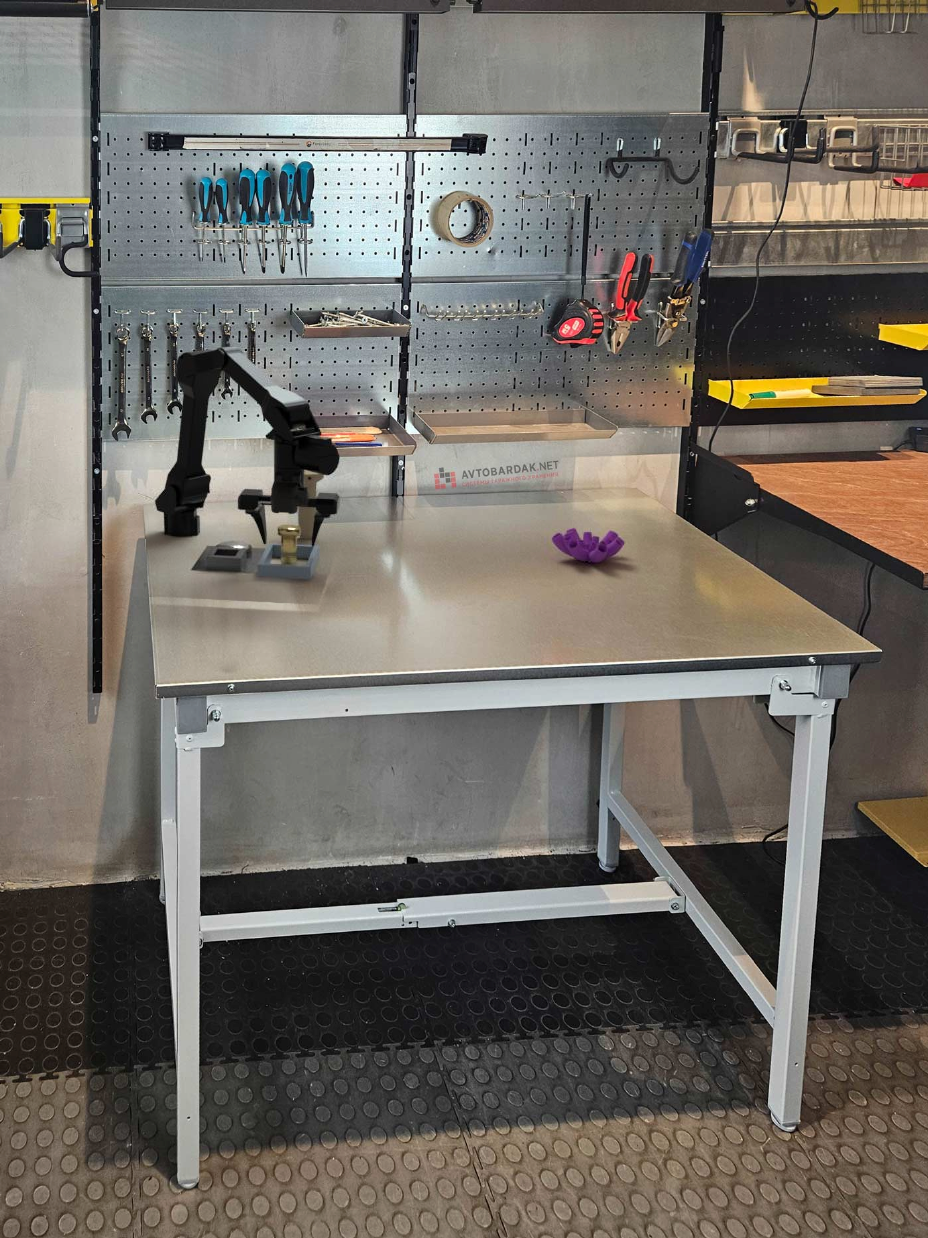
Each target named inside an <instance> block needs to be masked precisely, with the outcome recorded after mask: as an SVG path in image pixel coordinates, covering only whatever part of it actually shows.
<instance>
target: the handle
mask: <svg viewBox="0 0 928 1238" xmlns="http://www.w3.org/2000/svg"><path fill="white" fill-rule="evenodd" d="M324 477H325V475H323V474H319V473H315V472H311V471H307V470H305V476H304V487H308V491H309V497H315V498H317V496H318V494H317V483H318V482H320V481H322V480H323V479H324ZM316 511H317V510H316V508H315V507H298V510H297V515H298V517H297V520H298V521H297V523H298V525H297V526H299V527H301V534H300V535H299V539H307V540H310V539H311V540H312V533H313V526H314V515H315V513H316Z"/></svg>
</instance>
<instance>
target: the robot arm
mask: <svg viewBox="0 0 928 1238" xmlns="http://www.w3.org/2000/svg"><path fill="white" fill-rule="evenodd" d="M222 372H224V373H225V374H226V376H228V377H229V378H230V379H232V381H234V383H235V384H237V385H238V386H239V388H241V389H242V390H243V391H245V392H246V394H248V395H249V396H250V397H251V398H252V399H253V400H254V401H255V402H256V403H257V405H259V407H260V408H261V414H262V417H263V418H264V419H265V420H266V422H267V423H268V424H269V426H270V427H271V428H272V429H271V430H270V431H269V432H268V433H267V434H266V435H265V438H266V440H267V439H268V440H272V441H273V483H272V486H271V493H270V495H269V494H264V491H263V489H259V488H258V489H257V488H244V489H243V490H242V491H241V492H240V493H239V495H238V497H237V509H238V510H240V511H244V513H245V514H246V515H250V517H252V519H253V520H254V522H255V524H256V526H257V529H258V532H259V535H260V538H261V540H262V543H263V545H266V544H268V543H267V541H268V540H267V539H268V531H267V521H266V519H267V518H266V507H265V506H271V507H270V509H271V512H272V513H274V514H279V513H284V514H285V513H286V514H289V515H293V514H296V513H298V511H299V507H315V508H316V510H317V511H316V513H315V515H314V526H313V533H312V539H311V545H312V547H314V545H316V544H315V543H316V541H317V538H318V536H319V532H320V529H321V526H322V524H323V523H324V520H325V519H330V518H331V516H332V515H333V516H334V515H337V514H338V512H339V509H340V496H339V494H338V493H335V492H334V493H333V492H318V494H317V498H315V497H309V491H308V487H304V476H305V470H307V471H311V472H315V473H319V474H323V475H324V476H331V475H332V474H333V473H335V472H336V470H337V468H338V466H339V463H340V454H339V451H338V449H337V447H336V446H335V445H334V444H333V438H332V437H329V436H324V437H323V436H322V431H321V429H320V428H319V427H320V425H319V424H318V422H317V421H316V418H315V416H314V414H313V412H312V410H311V409H310V407H311V405H310V404H309V402H308V401H307V400H306V399H305V398H304V397H302V396H300V395H299V394H297V393H295V392H293V391H292V390H288V389H286V388H285V389H284V388H282V387H280V386H279V385H278V384H276V383H275V381H273V380H272V379H271V378H270V377H269V376H267V374H265V372H263V371H262V370H261V369H260V368H259V367H257V366H256V365H255V363H254V362H252V361H251V360H250V359H249V358H248V357H247V356H246V355H244V353H243V351H242V348H240V347H238V346H236V345H234V346H233V345H232V346H231V345H230V346H223V347H218V348H216V349H203V350H194V351H188V352H187V351H186V352H183V353H182V354H180V355H179V356H178V357H177V360H176V380H177V384H178V386H179V387H180V390H181V392H182V393H183V394H182V396H183V397H182V406H181V415H180V425H179V433H178V435H179V436H178V445H177V455H176V461H175V463H174V465H173V466H172V468H171V469H170V471H169V472H168V473H167V477H166V481H165V484H164V485H165V486H164V489H163V490H162V492H161V493H160V494H159V495H158V496H157V498H156V499H155V500H154V503H155V507H156V511H157V512H159V513H163V535H166V536H170V537H173V538H174V537H175V538H184V537H185V538H186V537H197V536H199V535H200V533H201V516H200V515H199V514H198V509H203V508H204V506H205V501H206V499H207V497H208V494H210V493H211V490H210V485H211V480H212V477H211V474H208V473H207V471H206V470H205V468H204V466H203V456H204V455H203V454H204V447H205V437H206V430H207V429H206V428H207V418H208V411H209V409H208V408H209V401H210V397H211V395H212V394H213V392H214V391H215V389H217V387H218V385H219V383H220V378H221V374H222Z"/></svg>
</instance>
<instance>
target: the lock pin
mask: <svg viewBox="0 0 928 1238" xmlns="http://www.w3.org/2000/svg"><path fill="white" fill-rule="evenodd" d="M276 530H277V532H276V533H277V534H276V535H278V536H280V541H281V542H280V544H281V557H280V564H291V565H298V561H297V560H298V558H297V545H298V537H300V535H301V527H299V525H297V524H282V525H278V526H277V529H276Z"/></svg>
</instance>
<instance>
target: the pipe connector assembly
mask: <svg viewBox="0 0 928 1238" xmlns="http://www.w3.org/2000/svg"><path fill="white" fill-rule="evenodd" d="M551 541H552V543H553V545H554V546H555V547H556V548H557V549H558V550H559V551H561V552H562V553H563V554H565V555H567V556H569V557H571V558H574V559H576V560H578V561H580V562H581V561H582V562H585V561H590V562H589V563H591V562H594V563H601V562H602V561H603V560H606V559H609V558H611V557H613V556H616V554H617V553H619V552H620V551H621V549H622V548H623V547H624V546H625V544H626V543H625V540H623V538H621V537H619V534H618V533H617V532H615V531H613V530H609V531H608V532H607V533H606V534H605V535H604V537H603V538H602V539H601V541H600V536H597V535H592V532H591V531H584V532H583V535H582V538H581V537H580V534H579V533H578V531H577V529H576V527H573V528H569V529H567V530H566V532H565V533H564V534H562V533H561V532H557V533H555V534H554V535H552V537H551Z"/></svg>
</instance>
